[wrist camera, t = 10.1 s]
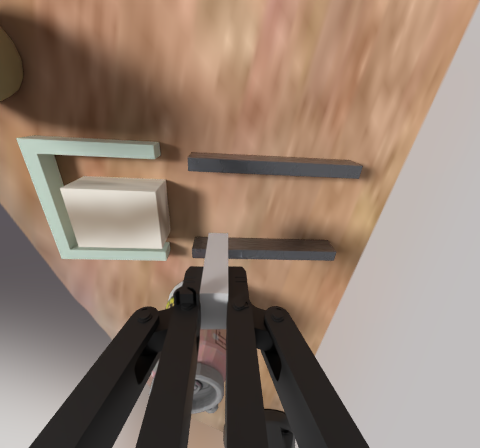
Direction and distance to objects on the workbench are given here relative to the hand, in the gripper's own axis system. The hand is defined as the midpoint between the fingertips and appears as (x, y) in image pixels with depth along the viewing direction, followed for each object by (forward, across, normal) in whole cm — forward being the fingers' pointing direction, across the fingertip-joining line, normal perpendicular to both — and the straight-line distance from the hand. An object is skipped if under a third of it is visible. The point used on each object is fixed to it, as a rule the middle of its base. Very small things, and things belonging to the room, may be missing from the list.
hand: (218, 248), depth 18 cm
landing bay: (+8, +11, -1) cm, 13 cm away
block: (+8, +10, 0) cm, 13 cm away
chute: (+8, -5, -1) cm, 9 cm away
